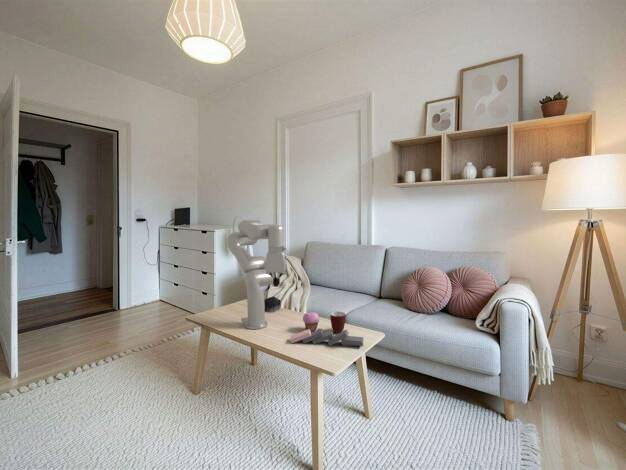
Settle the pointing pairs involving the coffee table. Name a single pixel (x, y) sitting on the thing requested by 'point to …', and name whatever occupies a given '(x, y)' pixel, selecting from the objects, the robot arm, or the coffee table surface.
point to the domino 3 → (338, 337)
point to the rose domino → (300, 336)
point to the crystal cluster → (272, 304)
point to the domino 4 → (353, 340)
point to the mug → (337, 321)
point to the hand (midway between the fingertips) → (276, 285)
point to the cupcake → (311, 321)
